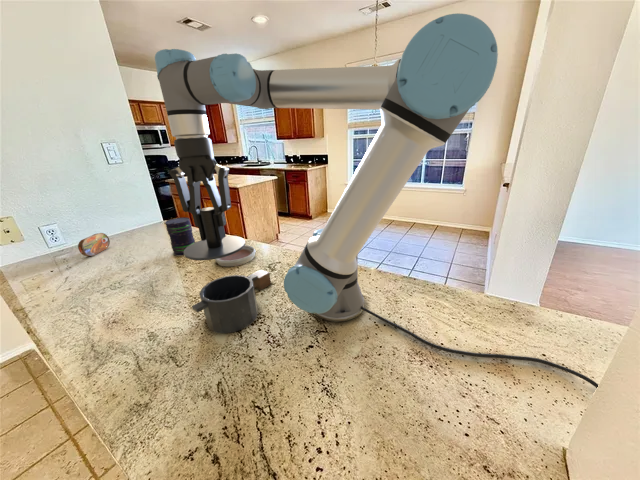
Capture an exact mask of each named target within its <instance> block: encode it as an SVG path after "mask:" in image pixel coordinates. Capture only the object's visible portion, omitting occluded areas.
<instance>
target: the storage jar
mask: <svg viewBox="0 0 640 480" xmlns="http://www.w3.org/2000/svg"><path fill="white" fill-rule="evenodd" d="M164 223H165V227H166V231H167V234H168V236H169V239H170V246H171V250H172V252H173V255H174V256H176V257H181V256H182V257H183V256H184V250H185V249H186V248H187V247H188V246H189V245H191V244H193V243H195V242H196V241H195V240H196V239H195V237H194V233H193V227H192V223H191V219H190V218H189V217H187V216H185V217H176V218H171V219H168V220H166V221H165V222H164ZM184 257H185V256H184Z"/></svg>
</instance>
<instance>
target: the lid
mask: <svg viewBox="0 0 640 480" xmlns="http://www.w3.org/2000/svg"><path fill="white" fill-rule="evenodd" d="M214 213H215V210H214V207H213V206H211V207H210V206H209V207H203V208H201V209H200V215H201V219H202V224H203V228H204V233H205V237H206V240H204V241H201V239H200V240H198V241H195V243H193V244H191V245H189V246H188V247H187V248H186V249H185V250H184V258H185V259H188V260H192V261H212V260H214V259H218V258H222V257H226V256H229V255H232V254H234V253H236V252H238V251H240V250H241V249H243V248H244V246H245V245H246V240H245V239H244V238H243V237H241V236H237V235H226V237H224V238H223V239H222V240H218V238H217V233H216V229H215V224H214V219H213V214H214Z"/></svg>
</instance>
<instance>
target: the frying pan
mask: <svg viewBox="0 0 640 480" xmlns="http://www.w3.org/2000/svg"><path fill="white" fill-rule="evenodd" d="M256 252H257V251H256V248H255V247H253V246H252V245H248V244H247V245H246V244H245V246H244V248H243V249H241V250H240V251H238V252H236V253H234V254H232V255H229V256H226V257H222V258H218V259H213V260H214V261H215V262H216V263H217V265H218V266H221V267H236V266H241V265H244V264H247V263H249V262H251V261H252V260H253V259H254V258H255V255H256Z"/></svg>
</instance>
